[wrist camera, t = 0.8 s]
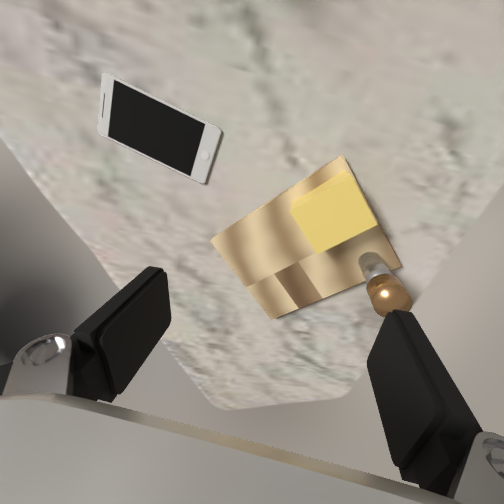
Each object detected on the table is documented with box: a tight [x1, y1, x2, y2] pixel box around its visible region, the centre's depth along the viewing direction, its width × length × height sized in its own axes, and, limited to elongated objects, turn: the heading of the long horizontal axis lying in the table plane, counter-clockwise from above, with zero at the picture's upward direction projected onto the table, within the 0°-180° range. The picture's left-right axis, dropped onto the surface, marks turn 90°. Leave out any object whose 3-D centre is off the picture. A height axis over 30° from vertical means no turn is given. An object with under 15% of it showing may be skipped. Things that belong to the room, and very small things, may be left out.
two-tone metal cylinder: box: [358, 252, 412, 317], centre depth 27 cm, size 3×3×9 cm
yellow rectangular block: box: [290, 170, 378, 254], centre depth 28 cm, size 7×6×4 cm
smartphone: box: [97, 73, 222, 184], centre depth 30 cm, size 7×15×1 cm, turn 67°
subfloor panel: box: [210, 155, 401, 320], centre depth 33 cm, size 20×16×1 cm
